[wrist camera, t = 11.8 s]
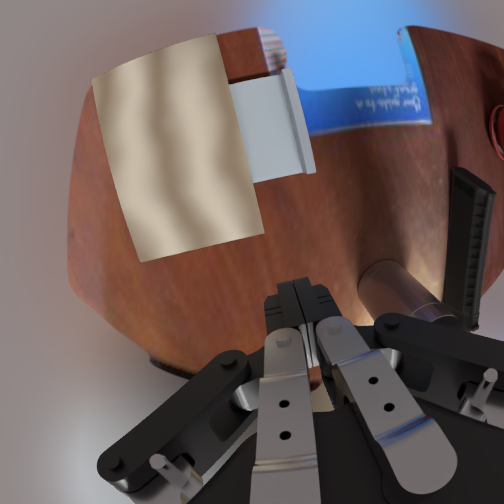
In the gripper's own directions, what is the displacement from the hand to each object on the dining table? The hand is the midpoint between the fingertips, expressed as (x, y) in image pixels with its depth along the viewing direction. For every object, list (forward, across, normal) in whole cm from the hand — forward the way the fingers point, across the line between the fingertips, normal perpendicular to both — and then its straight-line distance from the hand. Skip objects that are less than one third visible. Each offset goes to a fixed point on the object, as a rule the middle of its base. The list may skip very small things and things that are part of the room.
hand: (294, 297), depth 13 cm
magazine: (+27, -33, +16) cm, 46 cm away
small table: (+27, +7, -9) cm, 29 cm away
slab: (+27, +3, -9) cm, 29 cm away
